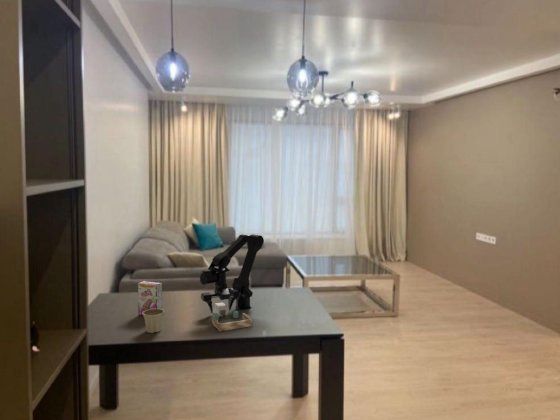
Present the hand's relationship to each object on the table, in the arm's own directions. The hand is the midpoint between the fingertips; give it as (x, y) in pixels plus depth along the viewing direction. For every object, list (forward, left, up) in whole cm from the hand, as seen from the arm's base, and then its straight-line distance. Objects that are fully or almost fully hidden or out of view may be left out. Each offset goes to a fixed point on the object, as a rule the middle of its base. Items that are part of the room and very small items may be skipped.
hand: (220, 311), depth 215 cm
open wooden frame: (0, +17, -1) cm, 17 cm away
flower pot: (+34, +9, -1) cm, 35 cm away
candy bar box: (+32, -13, -1) cm, 35 cm away
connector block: (0, 0, -1) cm, 1 cm away
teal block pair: (0, +8, -1) cm, 8 cm away
